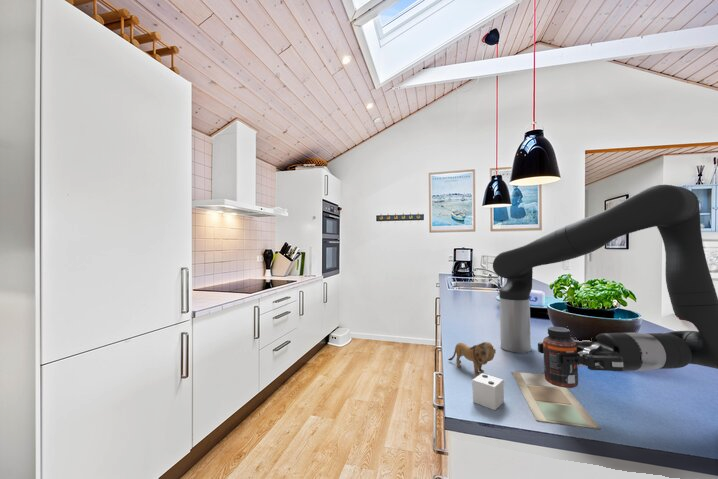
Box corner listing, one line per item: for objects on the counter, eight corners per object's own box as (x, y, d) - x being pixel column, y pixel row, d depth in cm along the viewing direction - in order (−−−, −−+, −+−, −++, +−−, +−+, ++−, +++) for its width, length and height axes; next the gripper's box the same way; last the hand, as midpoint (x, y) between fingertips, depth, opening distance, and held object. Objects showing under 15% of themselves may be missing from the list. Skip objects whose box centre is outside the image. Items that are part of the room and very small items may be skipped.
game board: (556, 376, 81) (556, 375, 81) (600, 429, 58) (600, 427, 58) (511, 372, 84) (511, 371, 84) (536, 420, 61) (536, 419, 61)
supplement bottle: (583, 391, 60) (580, 333, 60) (548, 387, 62) (545, 331, 62) (573, 378, 65) (570, 326, 66) (541, 375, 67) (539, 324, 68)
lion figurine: (499, 374, 83) (498, 342, 83) (489, 380, 80) (488, 346, 80) (453, 359, 95) (452, 330, 95) (442, 364, 91) (442, 334, 91)
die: (482, 394, 73) (481, 372, 73) (504, 401, 69) (503, 379, 69) (472, 401, 69) (472, 379, 69) (495, 410, 65) (494, 386, 66)
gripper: (600, 324, 71) (528, 326, 71) (660, 344, 56) (569, 346, 57) (602, 356, 71) (529, 358, 71) (662, 384, 56) (571, 386, 57)
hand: (547, 353), depth 64 cm, fingers closed on supplement bottle, 6 cm apart
